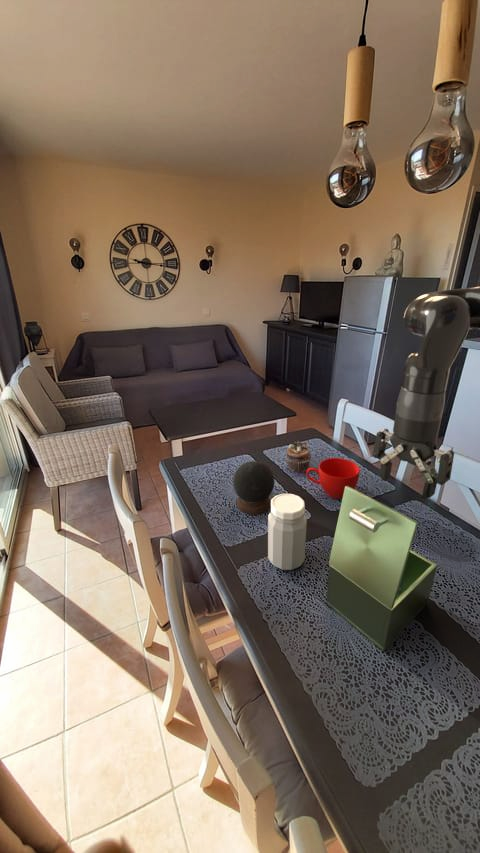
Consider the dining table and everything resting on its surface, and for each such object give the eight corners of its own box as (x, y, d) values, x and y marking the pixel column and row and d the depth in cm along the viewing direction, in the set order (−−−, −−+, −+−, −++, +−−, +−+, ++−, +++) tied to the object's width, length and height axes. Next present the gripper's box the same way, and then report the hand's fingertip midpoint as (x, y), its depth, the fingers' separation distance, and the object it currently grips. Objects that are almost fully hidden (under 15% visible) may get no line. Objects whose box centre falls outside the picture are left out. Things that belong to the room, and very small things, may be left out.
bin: (370, 566, 92) (376, 529, 87) (427, 604, 82) (437, 564, 77) (325, 603, 83) (329, 564, 78) (383, 652, 72) (391, 610, 67)
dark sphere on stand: (244, 521, 110) (242, 479, 104) (227, 498, 121) (225, 459, 115) (281, 509, 115) (282, 468, 109) (262, 488, 126) (262, 450, 120)
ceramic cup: (306, 480, 130) (307, 455, 126) (355, 484, 127) (358, 459, 122) (304, 501, 118) (305, 475, 114) (358, 506, 115) (361, 479, 111)
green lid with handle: (347, 485, 72) (330, 491, 69) (418, 522, 61) (402, 531, 58) (330, 562, 78) (314, 571, 75) (393, 608, 67) (377, 620, 64)
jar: (300, 577, 90) (303, 518, 82) (262, 567, 93) (262, 510, 86) (307, 550, 98) (311, 495, 91) (273, 542, 101) (273, 488, 94)
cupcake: (280, 469, 137) (281, 445, 133) (292, 458, 145) (293, 436, 141) (303, 476, 132) (305, 452, 128) (314, 464, 140) (316, 441, 135)
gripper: (470, 417, 62) (450, 496, 68) (393, 397, 72) (383, 467, 79) (450, 429, 58) (431, 512, 64) (371, 406, 68) (362, 479, 75)
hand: (404, 487), depth 71 cm, fingers open, 8 cm apart
